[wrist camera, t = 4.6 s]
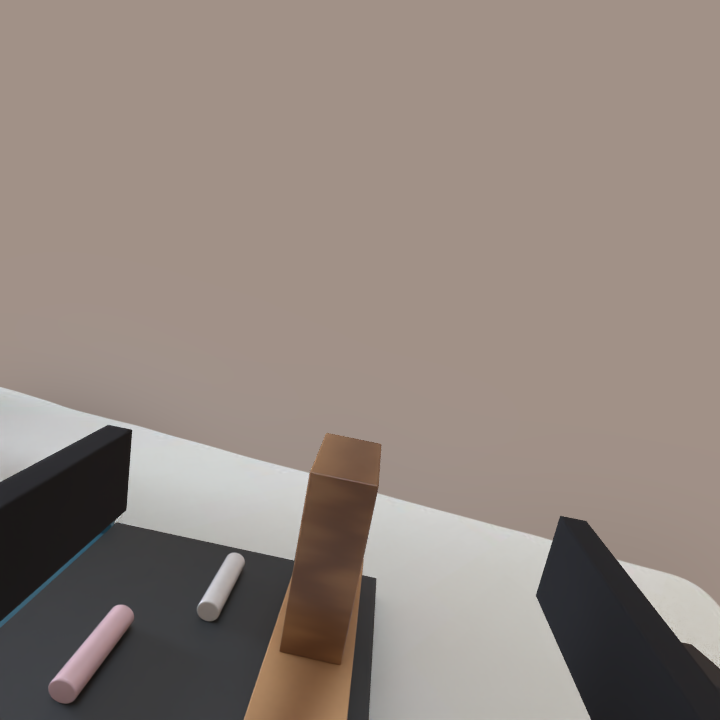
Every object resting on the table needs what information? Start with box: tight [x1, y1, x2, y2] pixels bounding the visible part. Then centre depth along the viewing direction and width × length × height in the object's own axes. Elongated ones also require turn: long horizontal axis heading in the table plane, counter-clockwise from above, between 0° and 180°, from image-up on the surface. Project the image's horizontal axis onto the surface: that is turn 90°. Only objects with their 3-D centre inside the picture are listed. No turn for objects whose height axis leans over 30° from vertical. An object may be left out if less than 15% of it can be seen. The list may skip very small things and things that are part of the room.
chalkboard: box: [0, 523, 376, 720], centre depth 25 cm, size 20×15×2 cm
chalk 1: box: [48, 605, 134, 704], centre depth 22 cm, size 1×5×1 cm, turn 176°
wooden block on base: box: [244, 433, 381, 720], centre depth 23 cm, size 4×12×12 cm, turn 175°
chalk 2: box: [197, 553, 245, 621], centre depth 28 cm, size 1×5×1 cm, turn 176°
